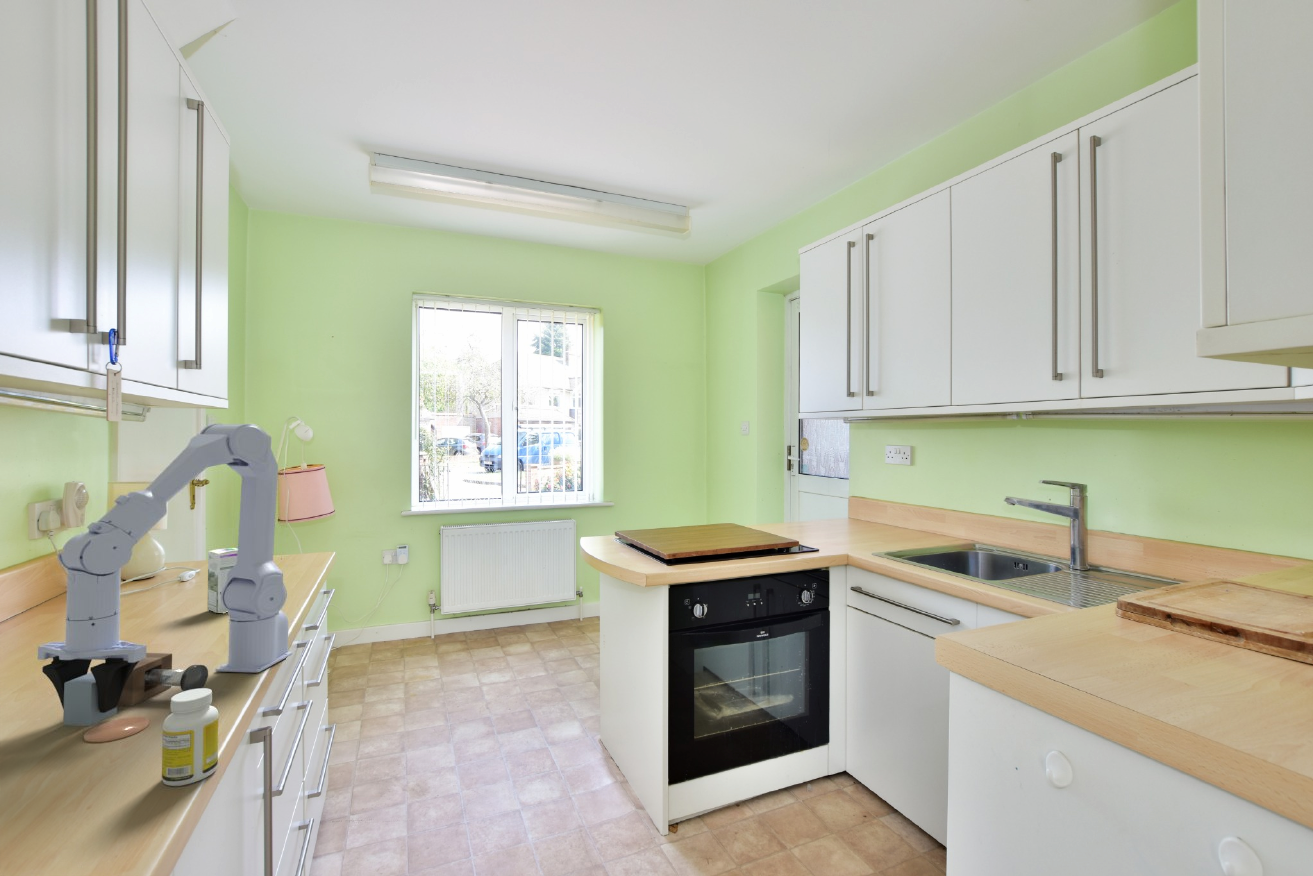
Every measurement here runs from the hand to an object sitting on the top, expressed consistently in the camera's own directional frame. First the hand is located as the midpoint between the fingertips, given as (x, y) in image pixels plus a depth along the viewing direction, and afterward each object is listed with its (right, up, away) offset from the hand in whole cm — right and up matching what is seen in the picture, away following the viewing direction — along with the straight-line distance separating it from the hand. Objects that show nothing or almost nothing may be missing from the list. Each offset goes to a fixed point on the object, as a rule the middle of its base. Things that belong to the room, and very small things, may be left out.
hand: (90, 709), depth 86 cm
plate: (+7, -2, -3) cm, 8 cm away
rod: (+5, -1, +8) cm, 10 cm away
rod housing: (-1, -2, +8) cm, 8 cm away
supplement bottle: (+25, -2, -14) cm, 29 cm away
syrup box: (-21, -2, +56) cm, 60 cm away
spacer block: (0, -2, 0) cm, 2 cm away
